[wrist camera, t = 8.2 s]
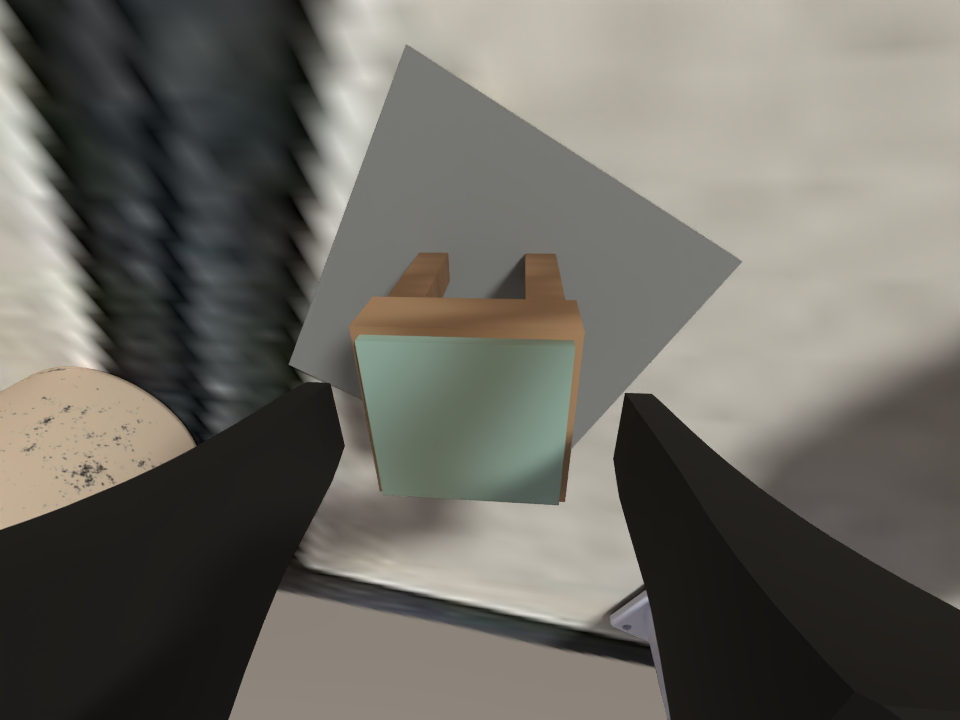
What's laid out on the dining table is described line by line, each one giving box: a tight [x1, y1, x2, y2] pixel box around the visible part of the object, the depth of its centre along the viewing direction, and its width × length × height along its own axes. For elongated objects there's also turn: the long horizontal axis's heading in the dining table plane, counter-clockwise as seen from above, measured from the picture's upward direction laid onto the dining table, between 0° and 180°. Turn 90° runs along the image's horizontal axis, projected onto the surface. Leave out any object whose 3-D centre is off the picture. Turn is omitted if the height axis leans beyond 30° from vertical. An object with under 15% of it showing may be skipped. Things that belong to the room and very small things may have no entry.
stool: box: [349, 253, 585, 505], centre depth 13 cm, size 5×5×6 cm
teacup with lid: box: [0, 367, 197, 530], centre depth 16 cm, size 12×9×12 cm
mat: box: [289, 45, 742, 449], centre depth 16 cm, size 12×12×1 cm
